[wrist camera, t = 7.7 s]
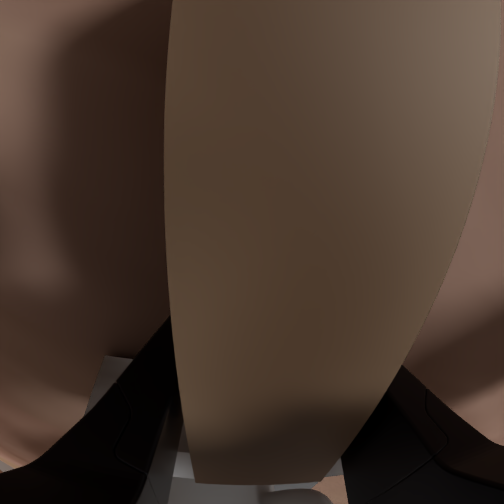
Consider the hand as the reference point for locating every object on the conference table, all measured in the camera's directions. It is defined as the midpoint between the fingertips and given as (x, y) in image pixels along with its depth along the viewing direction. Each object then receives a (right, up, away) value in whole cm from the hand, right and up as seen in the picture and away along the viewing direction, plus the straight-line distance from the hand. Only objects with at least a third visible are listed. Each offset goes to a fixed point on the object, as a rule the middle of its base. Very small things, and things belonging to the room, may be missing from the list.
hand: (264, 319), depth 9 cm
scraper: (0, +2, 0) cm, 2 cm away
